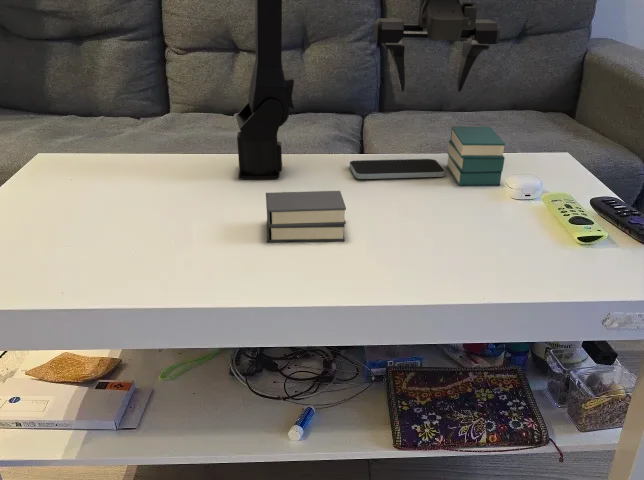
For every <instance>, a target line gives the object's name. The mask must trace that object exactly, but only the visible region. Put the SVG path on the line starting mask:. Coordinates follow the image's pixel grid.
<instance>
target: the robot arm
mask: <svg viewBox="0 0 644 480" xmlns="http://www.w3.org/2000/svg"><path fill="white" fill-rule="evenodd" d="M418 3H419V5H418V15H417V16H418V19H417V23H405V22H404V21H403V20H402V19H401V18H392V17H391V18H383V17H382V18H381V17H380V18H379V17H378V18H377V19H376V20H375V21H374V25H373V39H374V41H375V42H376V43H379V44H381V45H382V47H384V49H385V50H389V52H390V54H391V57H392V60H393V62H394V63H393V64H394V67H395V73H396V75H397V79H398V84H399V88H400V89H399V90H400V92H405V88H406V87H405V85H406V75H405V74H406V73H405V71H406V69H405V48H406V47H405V44H404V43H403V39H404V38H412V39H413V38H415V39H416V38H419V39H420V38H421V39H422V38H424V39H425V38H427V39H428V40H430V41H433V42H439V41H441V40H442V41H451V42H458V41H460V40H461V39H466V40H463V42H462V47H461V55H460V61H459V65H458V66H459V67H458V73H457V80H456V81H457V82H456V91H457V92H460V93H461V91H462V89H463V87H464V85H465V82H466V80H467V78H468V76H469V74H470V71H471V69H472V67H473V65H474V64H475V62H476V60H477V58H478V57H479V55H480V54H481V53H482V52H483V51H488V50H489V49H490V45H499V44H500V36H501V27H500V26H499V24H498V23H497V22H496V21H493V20H491V19H479V18H478V19H477V14H478V5H477V2H472V1H471V2H469V1H467V2H466V1H465V2H463V3H462V4H461V2H460V0H419V2H418ZM424 29H425V30H424ZM282 32H283V0H254V34H255V35H254V36H255V37H254V38H255V39H254V40H255V45H254V47H255V59H254V64H253V68H252V73H251V79H250V83H249V84H250V85H249V91H248V99H247V100H248V101H247V103H246V104H245V105H244V106H243V107H242V108H241V110H240V111H238V113H236V115H235V119H236V122H237V124H238V128H239V131H238V132H237V136H236V141H237V157H238V174H237V178H238V179H240V180H253V179H254V180H257V179H258V180H259V179H263V180H264V179H265V180H267V179H268V180H269V179H271V180H272V179H274V180H275V179H279V178H280V173H281V172H282V171H283V156H282V155H283V154H282V153H283V152H282V151H283V150H282V142H281V141H278V132H279V128H280V127H282V126H283V125H284V124H285V123H286V122H287V121H288V119H289V117H290V111H291V109H292V110H293V109H295V105H294V103H293V92H294V84H295V80H294V78H293V77H292V76H291V74H290V73H289V72H284V68H283V63H282V61H283V60H282V56H283V55H282V52H283V51H282V50H283V49H282V48H283V47H282V43H283V42H282V40H283V38H282V37H283V33H282Z"/></svg>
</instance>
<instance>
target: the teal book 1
mask: <svg viewBox="0 0 644 480" xmlns="http://www.w3.org/2000/svg"><path fill="white" fill-rule="evenodd" d="M449 140H451V142H452V143H453V145H454V147H455V148H456V150H457V152H458V153H459V155H460V157H461V158H503V156H504V150H505V142H504V140H503V139H502V138H501V137H500V136H499V134H498V133H496V131H495V130H494V129H493V128H492V126H451V132H450V139H449Z"/></svg>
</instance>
